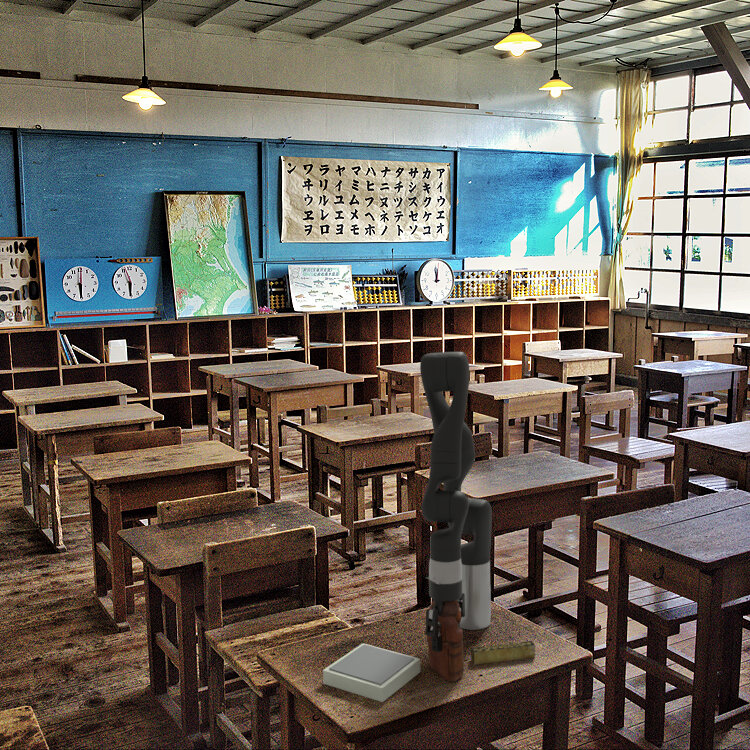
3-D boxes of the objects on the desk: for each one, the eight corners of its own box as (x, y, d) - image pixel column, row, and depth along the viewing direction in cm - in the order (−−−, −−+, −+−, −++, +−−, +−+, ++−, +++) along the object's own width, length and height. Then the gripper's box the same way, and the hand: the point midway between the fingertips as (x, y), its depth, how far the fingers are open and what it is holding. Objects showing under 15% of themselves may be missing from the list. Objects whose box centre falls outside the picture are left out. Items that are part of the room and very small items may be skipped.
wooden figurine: (472, 678, 198) (471, 602, 196) (448, 684, 196) (447, 608, 193) (445, 657, 209) (444, 585, 206) (421, 663, 206) (420, 590, 204)
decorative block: (531, 653, 210) (531, 639, 210) (535, 658, 208) (535, 644, 207) (470, 661, 207) (470, 647, 207) (473, 665, 205) (473, 651, 204)
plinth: (363, 655, 211) (362, 642, 210) (420, 671, 202) (420, 657, 201) (323, 683, 197) (322, 668, 197) (382, 702, 189) (382, 686, 188)
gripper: (446, 564, 207) (447, 629, 209) (415, 583, 195) (416, 652, 197) (474, 570, 203) (475, 636, 205) (444, 589, 191) (445, 660, 193)
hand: (446, 644), depth 201 cm, fingers open, 8 cm apart
